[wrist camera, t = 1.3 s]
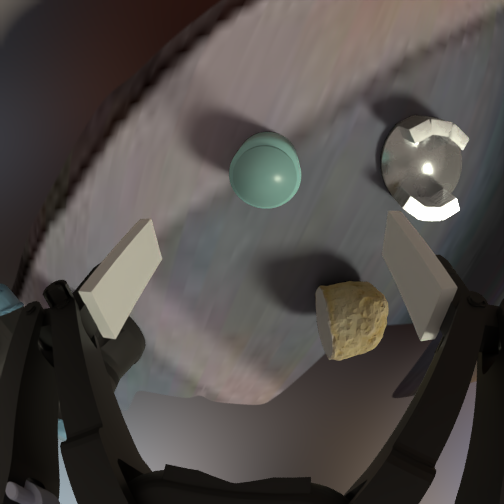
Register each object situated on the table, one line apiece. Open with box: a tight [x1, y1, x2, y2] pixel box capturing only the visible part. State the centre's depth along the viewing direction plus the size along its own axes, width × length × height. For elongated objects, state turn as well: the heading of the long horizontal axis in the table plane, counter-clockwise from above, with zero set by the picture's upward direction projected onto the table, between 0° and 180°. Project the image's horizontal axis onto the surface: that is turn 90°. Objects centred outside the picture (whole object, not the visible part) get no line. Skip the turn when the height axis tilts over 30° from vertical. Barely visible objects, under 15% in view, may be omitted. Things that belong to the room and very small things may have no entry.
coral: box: [315, 281, 388, 360], centre depth 32 cm, size 10×10×10 cm
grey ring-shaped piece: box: [380, 115, 469, 221], centre depth 24 cm, size 10×10×4 cm
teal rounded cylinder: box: [229, 132, 301, 208], centre depth 25 cm, size 6×6×6 cm
